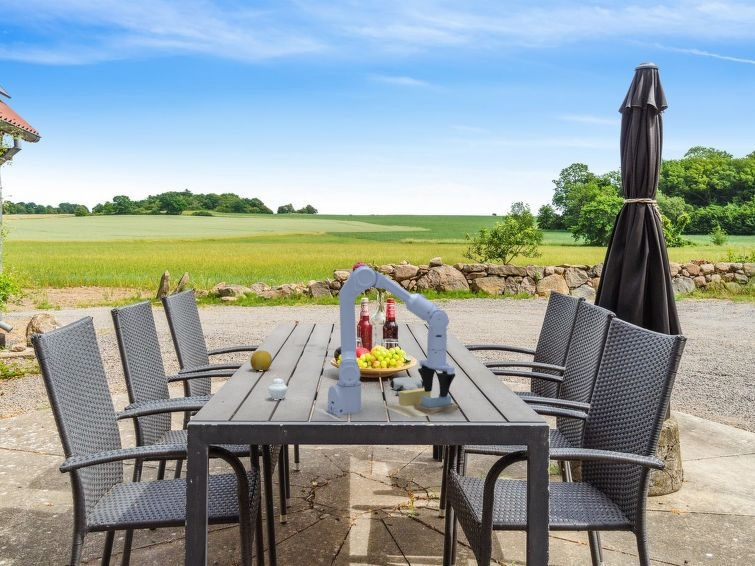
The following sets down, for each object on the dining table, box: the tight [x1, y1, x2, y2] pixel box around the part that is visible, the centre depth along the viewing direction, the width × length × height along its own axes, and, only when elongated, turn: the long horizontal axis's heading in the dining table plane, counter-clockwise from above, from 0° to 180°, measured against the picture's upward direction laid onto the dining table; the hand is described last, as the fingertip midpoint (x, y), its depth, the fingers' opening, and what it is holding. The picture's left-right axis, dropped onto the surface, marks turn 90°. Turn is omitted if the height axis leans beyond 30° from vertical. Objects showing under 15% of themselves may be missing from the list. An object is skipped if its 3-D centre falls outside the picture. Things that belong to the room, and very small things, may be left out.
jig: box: [381, 402, 460, 419], centre depth 190 cm, size 18×16×2 cm
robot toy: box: [387, 376, 424, 396], centre depth 213 cm, size 12×4×15 cm
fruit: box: [250, 350, 273, 371], centre depth 251 cm, size 9×8×8 cm
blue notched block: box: [422, 393, 452, 408], centre depth 189 cm, size 8×4×4 cm, turn 123°
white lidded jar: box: [268, 377, 288, 401], centre depth 204 cm, size 6×6×7 cm
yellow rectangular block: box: [398, 387, 432, 406], centre depth 196 cm, size 10×3×4 cm, turn 123°
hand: (435, 393), depth 189 cm, fingers open, 7 cm apart
